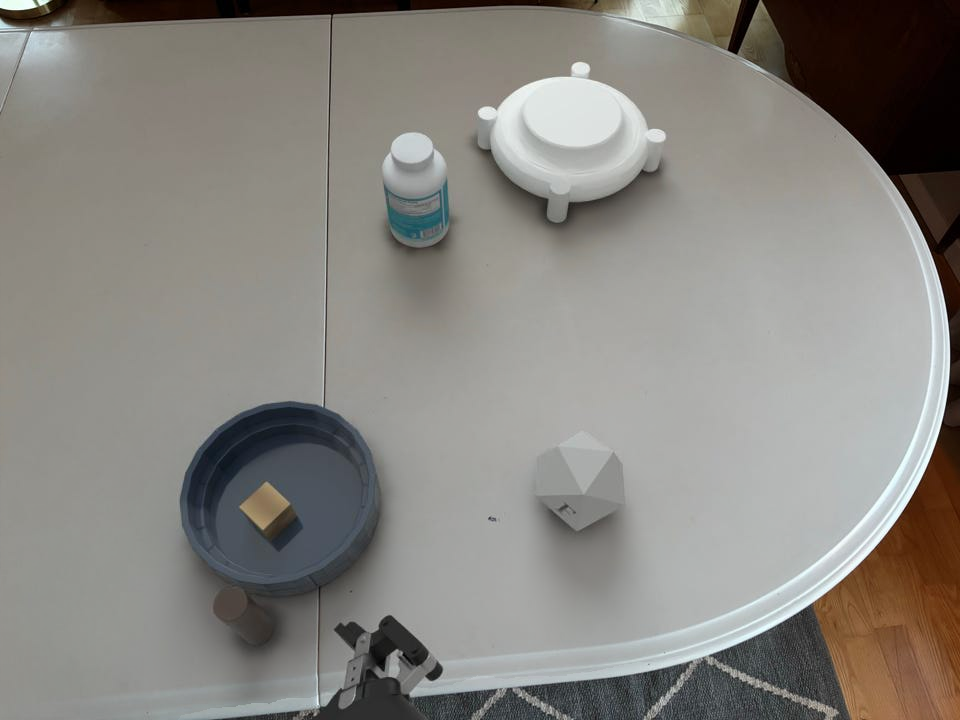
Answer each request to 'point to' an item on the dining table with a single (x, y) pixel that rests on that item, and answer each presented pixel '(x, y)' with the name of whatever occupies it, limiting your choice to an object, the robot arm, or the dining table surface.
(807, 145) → the dining table surface
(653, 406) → the dining table surface
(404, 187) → the pill bottle
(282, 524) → the block
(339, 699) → the robot arm
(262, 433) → the bowl
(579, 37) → the dining table surface
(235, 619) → the brown cylinder
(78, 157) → the dining table surface
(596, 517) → the die
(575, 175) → the round stand with pegs
